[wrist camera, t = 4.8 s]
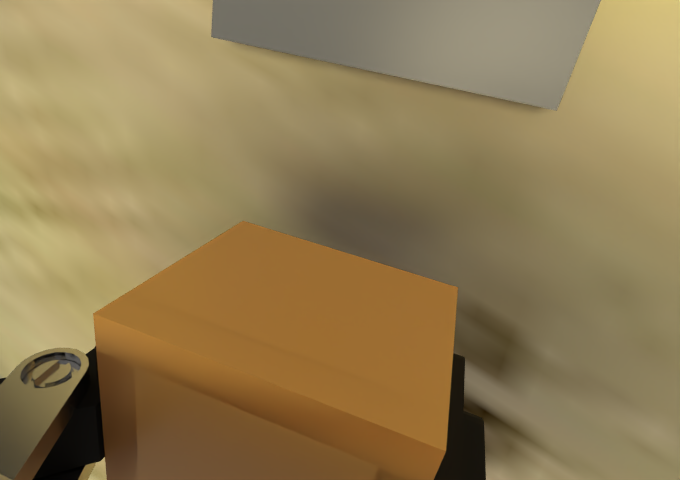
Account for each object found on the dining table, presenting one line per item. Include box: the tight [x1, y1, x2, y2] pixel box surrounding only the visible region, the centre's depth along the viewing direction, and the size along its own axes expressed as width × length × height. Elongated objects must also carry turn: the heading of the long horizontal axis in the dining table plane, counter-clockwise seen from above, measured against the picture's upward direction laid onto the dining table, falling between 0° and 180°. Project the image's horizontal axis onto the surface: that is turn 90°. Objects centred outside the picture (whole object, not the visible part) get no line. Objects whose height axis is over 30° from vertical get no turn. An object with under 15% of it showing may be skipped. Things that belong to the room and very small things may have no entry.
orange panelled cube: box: [93, 221, 458, 480], centre depth 10 cm, size 6×6×5 cm
